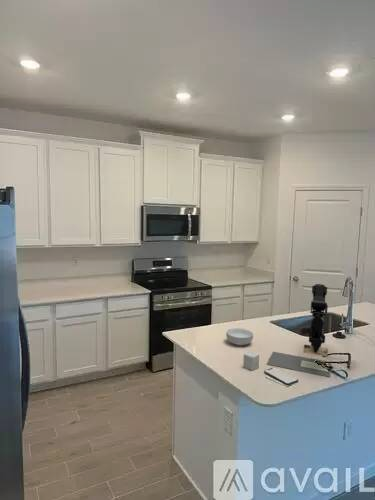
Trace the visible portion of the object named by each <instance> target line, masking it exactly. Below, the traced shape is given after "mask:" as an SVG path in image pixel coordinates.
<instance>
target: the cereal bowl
mask: <svg viewBox="0 0 375 500" xmlns="http://www.w3.org/2000/svg"><path fill="white" fill-rule="evenodd" d="M225 334H226V339H227V341H229V342H230V343H231V344H234V345H235V344H236V346H245V345H248V344H251V342H252V341H253V339H254V333H253V331H252V330H249V329H245V328H241V327H240V328H238V327H237V328H236V327H235V328H228V329H227V330H226V332H225Z"/></svg>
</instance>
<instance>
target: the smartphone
mask: <svg viewBox="0 0 375 500" xmlns="http://www.w3.org/2000/svg"><path fill="white" fill-rule="evenodd" d="M263 373H264V375H267V376H268V377H270V378H272V379H274V380H275V381H277V380H278V382H279V381H280V382H279V383H281V382H282V384H283V385H284V386H287V387H288V386H291V385H294V384H297V383H299V379H298V378H297V377H295V376H293V375H291V374H289V373H287V372H285V371H284V370H281V368H280V369H279V367H275V366H272V367H270V368H268V369H265V370H264V371H263Z"/></svg>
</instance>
